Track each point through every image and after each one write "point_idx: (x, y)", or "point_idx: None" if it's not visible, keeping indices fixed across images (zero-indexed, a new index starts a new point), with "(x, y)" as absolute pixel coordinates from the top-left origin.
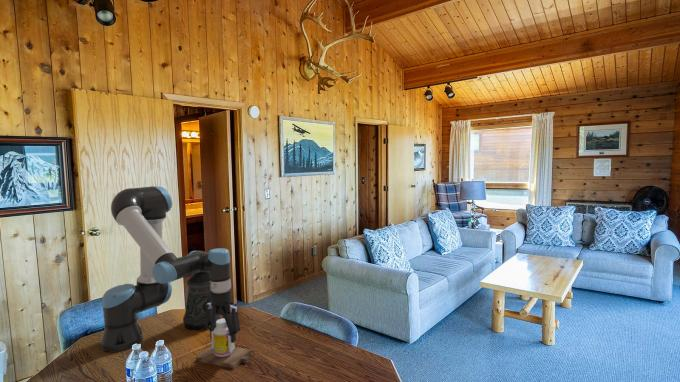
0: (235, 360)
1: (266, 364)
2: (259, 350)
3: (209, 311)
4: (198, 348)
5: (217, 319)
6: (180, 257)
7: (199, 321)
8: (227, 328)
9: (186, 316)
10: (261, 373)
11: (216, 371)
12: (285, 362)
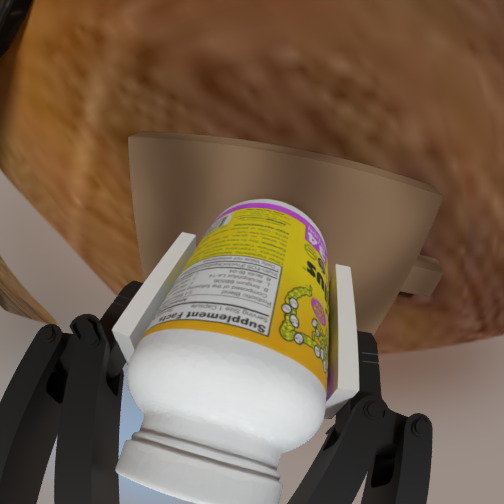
0: (373, 309)
1: (500, 280)
2: (472, 147)
3: (29, 500)
4: (83, 173)
5: (97, 458)
6: None
7: None
8: (287, 450)
9: None
10: (475, 329)
11: None
12: None
